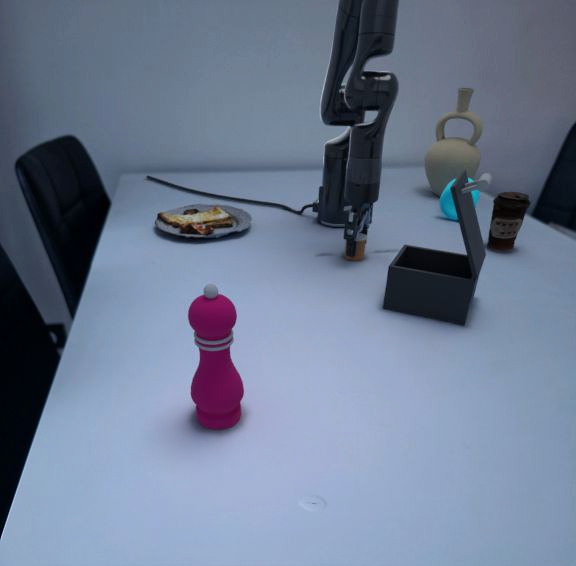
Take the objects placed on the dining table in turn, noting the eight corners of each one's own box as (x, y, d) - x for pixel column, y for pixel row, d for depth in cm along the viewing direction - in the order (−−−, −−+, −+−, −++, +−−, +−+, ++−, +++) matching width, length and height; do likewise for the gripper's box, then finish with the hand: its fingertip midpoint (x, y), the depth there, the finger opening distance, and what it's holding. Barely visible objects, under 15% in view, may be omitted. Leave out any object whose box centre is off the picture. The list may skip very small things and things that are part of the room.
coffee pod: (340, 258, 124) (341, 237, 121) (346, 251, 128) (348, 231, 125) (361, 262, 122) (363, 241, 120) (367, 255, 126) (370, 234, 123)
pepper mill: (194, 401, 78) (182, 272, 66) (244, 399, 78) (240, 272, 67) (191, 433, 72) (177, 298, 60) (245, 431, 72) (241, 297, 61)
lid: (449, 187, 87) (483, 176, 84) (461, 171, 97) (491, 161, 94) (473, 279, 93) (505, 272, 91) (481, 255, 103) (510, 248, 100)
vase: (478, 193, 173) (502, 88, 156) (463, 205, 161) (486, 93, 144) (429, 185, 180) (447, 84, 163) (411, 196, 169) (427, 88, 151)
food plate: (171, 249, 127) (169, 234, 125) (145, 220, 143) (143, 207, 141) (265, 234, 136) (265, 220, 134) (231, 209, 153) (230, 196, 151)
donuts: (435, 218, 150) (442, 182, 144) (441, 209, 158) (447, 174, 152) (472, 224, 147) (480, 186, 141) (475, 214, 155) (483, 178, 149)
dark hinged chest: (382, 308, 103) (388, 266, 98) (398, 284, 113) (404, 244, 108) (464, 325, 99) (475, 281, 93) (473, 298, 108) (483, 257, 103)
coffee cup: (520, 256, 128) (535, 201, 121) (484, 252, 129) (497, 198, 122) (514, 243, 135) (529, 191, 128) (481, 240, 136) (493, 188, 129)
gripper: (355, 169, 121) (349, 238, 131) (336, 182, 111) (330, 257, 120) (388, 172, 119) (379, 243, 128) (371, 187, 108) (363, 263, 117)
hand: (356, 250), depth 124 cm, fingers open, 8 cm apart
